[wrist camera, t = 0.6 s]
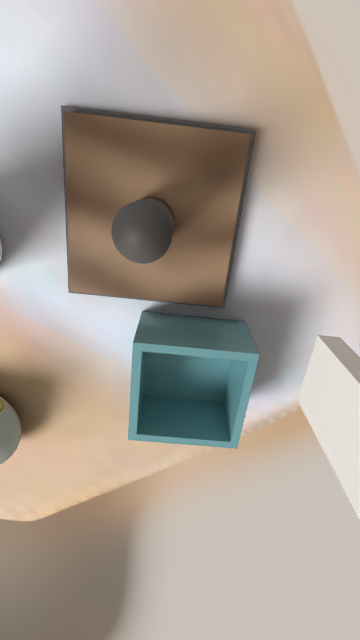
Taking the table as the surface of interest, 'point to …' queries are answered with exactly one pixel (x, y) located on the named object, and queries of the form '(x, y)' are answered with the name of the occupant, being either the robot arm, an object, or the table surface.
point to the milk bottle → (0, 250)
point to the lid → (151, 207)
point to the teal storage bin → (190, 380)
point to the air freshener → (8, 430)
